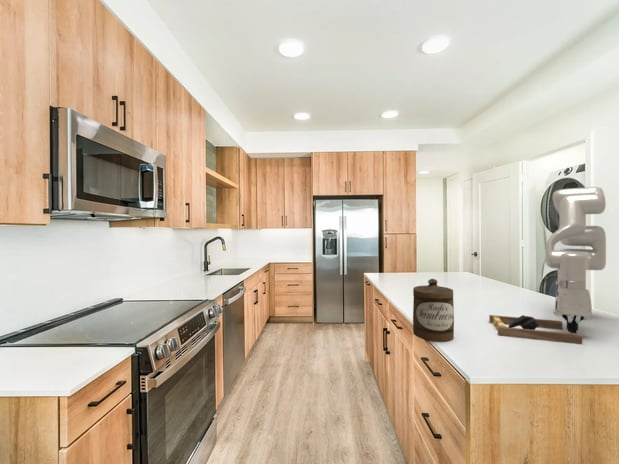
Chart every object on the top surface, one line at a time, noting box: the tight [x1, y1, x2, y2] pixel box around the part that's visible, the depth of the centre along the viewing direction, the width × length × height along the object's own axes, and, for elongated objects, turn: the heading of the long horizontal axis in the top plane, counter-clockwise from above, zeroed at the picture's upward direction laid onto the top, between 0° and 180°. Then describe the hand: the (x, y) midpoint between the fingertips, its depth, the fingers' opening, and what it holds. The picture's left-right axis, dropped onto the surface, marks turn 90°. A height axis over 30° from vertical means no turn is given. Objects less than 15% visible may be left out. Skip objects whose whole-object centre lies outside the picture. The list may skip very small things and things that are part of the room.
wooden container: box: [412, 278, 455, 343], centre depth 120 cm, size 15×15×22 cm
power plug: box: [508, 315, 539, 330], centre depth 123 cm, size 6×8×12 cm
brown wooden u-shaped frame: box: [488, 314, 583, 345], centre depth 123 cm, size 18×26×3 cm
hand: (572, 332), depth 118 cm, fingers closed
